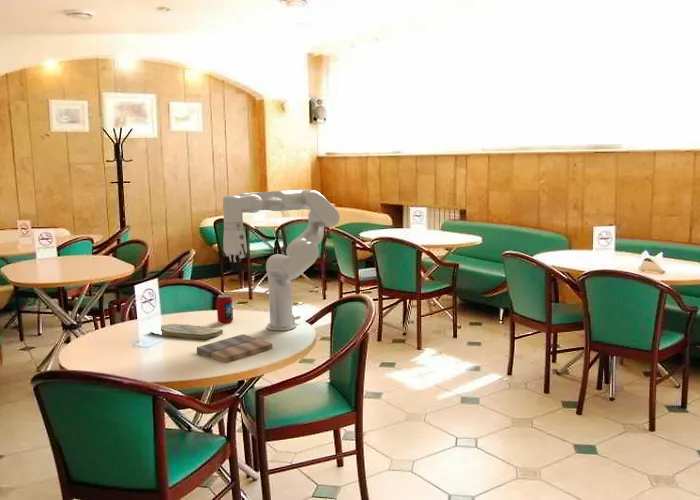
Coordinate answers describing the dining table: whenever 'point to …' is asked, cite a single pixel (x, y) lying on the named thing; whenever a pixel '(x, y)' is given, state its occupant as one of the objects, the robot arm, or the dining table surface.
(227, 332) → the dining table surface
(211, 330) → the stone slab
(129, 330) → the dining table surface
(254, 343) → the walnut board
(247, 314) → the dining table surface
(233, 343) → the smoked oak plank
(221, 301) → the beverage can
